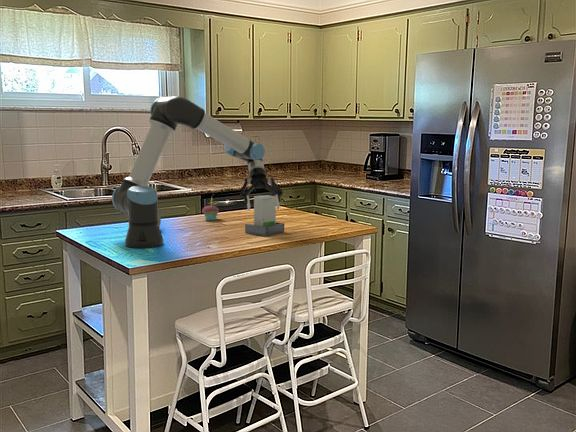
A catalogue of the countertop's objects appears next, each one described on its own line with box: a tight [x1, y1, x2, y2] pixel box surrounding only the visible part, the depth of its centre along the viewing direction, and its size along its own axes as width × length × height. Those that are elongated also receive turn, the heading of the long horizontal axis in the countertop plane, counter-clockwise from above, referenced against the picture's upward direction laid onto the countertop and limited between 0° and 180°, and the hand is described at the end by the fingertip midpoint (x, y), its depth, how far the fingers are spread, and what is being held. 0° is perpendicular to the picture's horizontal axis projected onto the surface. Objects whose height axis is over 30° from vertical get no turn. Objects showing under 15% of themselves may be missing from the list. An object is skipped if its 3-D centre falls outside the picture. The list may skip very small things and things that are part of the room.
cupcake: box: [201, 197, 220, 221], centre depth 287 cm, size 9×8×12 cm
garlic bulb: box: [158, 212, 162, 229], centre depth 263 cm, size 9×8×10 cm
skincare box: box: [253, 194, 277, 227], centre depth 257 cm, size 8×7×16 cm
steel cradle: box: [244, 221, 285, 237], centre depth 258 cm, size 13×13×4 cm
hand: (263, 208), depth 260 cm, fingers open, 13 cm apart
